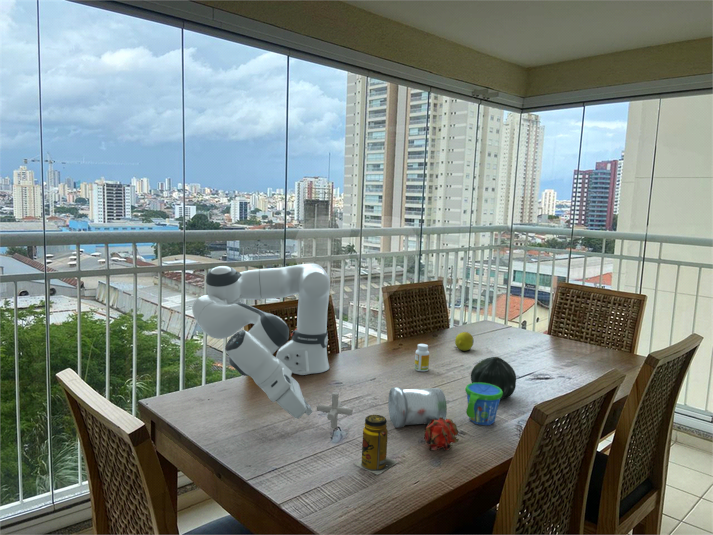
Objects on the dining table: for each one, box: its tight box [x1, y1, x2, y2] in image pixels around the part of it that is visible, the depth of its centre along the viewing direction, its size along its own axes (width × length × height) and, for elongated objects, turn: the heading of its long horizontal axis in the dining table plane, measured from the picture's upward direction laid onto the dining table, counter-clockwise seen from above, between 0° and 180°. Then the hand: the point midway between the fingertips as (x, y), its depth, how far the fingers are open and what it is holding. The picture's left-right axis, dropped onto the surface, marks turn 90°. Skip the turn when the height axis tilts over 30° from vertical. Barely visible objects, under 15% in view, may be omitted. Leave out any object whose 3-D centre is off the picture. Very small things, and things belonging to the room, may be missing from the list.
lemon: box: [454, 331, 474, 352], centre depth 232 cm, size 11×8×8 cm
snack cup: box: [465, 382, 503, 426], centre depth 157 cm, size 16×10×10 cm
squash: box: [470, 356, 517, 401], centre depth 178 cm, size 14×15×15 cm
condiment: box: [354, 414, 398, 476], centre depth 128 cm, size 7×8×12 cm
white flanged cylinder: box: [387, 387, 448, 429], centre depth 153 cm, size 14×13×11 cm
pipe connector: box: [316, 391, 354, 429], centre depth 148 cm, size 10×10×10 cm
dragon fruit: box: [423, 417, 460, 452], centre depth 139 cm, size 8×8×12 cm
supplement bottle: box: [414, 343, 430, 372], centre depth 202 cm, size 5×5×10 cm
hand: (310, 411), depth 146 cm, fingers closed
